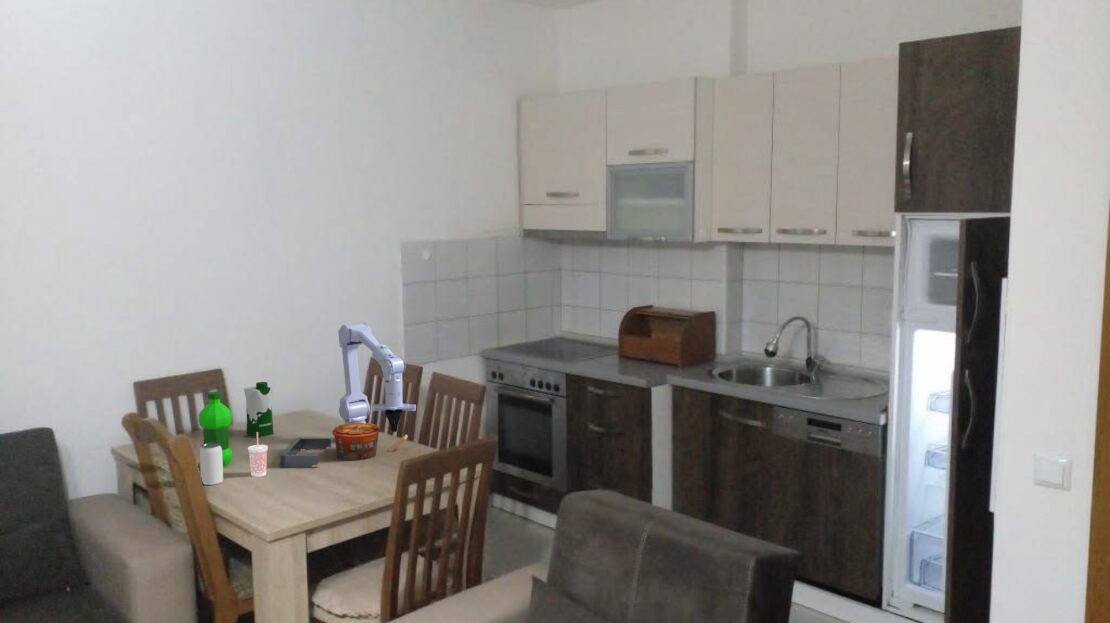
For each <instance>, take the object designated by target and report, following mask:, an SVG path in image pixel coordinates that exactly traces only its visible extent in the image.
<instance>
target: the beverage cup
mask: <svg viewBox="0 0 1110 623" xmlns="http://www.w3.org/2000/svg"><path fill="white" fill-rule="evenodd" d="M268 449H269V445H266V444H259V438H258V432H257V437H256V444H255V445H250V446H248V447H247V451H248V454H249V455H248V456H249V466H250V468H249V469H250V476H252V477H257V478H258V477H263V476H266V475H267V464H268V463H267V461H268V460H267V459H268V458H267V456H268Z"/></svg>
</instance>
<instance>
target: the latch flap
mask: <svg viewBox="0 0 1110 623" xmlns="http://www.w3.org/2000/svg"><path fill="white" fill-rule="evenodd" d="M408 438H409V437H408V435H407V434H405V435H403V436H402V437H401V438H399V440H397V441H396V442H395V443H394V444H392V445H391V446H389V449H388V450H387V452H393V451H395V449H397V448H398V447H399V446H401V445H402V444H403V443H404V442H406V440H407V439H408Z"/></svg>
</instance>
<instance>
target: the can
mask: <svg viewBox="0 0 1110 623" xmlns="http://www.w3.org/2000/svg"><path fill="white" fill-rule="evenodd" d="M199 461H200V463H199V465H200V478H201V477H202V481H203V484H204V485H203V484H202V485H203V486H216V485H219V484H221V483H222V482H223V481H224V468H223V460H222V448H221V446H220V444H219V443H206V444H204V443H203V444H201V445H200V449H199Z"/></svg>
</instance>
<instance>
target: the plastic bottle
mask: <svg viewBox="0 0 1110 623" xmlns="http://www.w3.org/2000/svg"><path fill="white" fill-rule="evenodd" d="M221 399H222V391H219V390H217V391H215V390H213V391H209V392H207V400H209V403H208V404H206V405H205V407H203V408H202V409H201V410H200V411H199V414H198V423H199V426H200V427H201V428H202V429H203V430H202V431H203V444H206V443H219V444H220V446H221V448H222V460H223V469H224V468H226V466H228V464H230V462H231V461H232V458H233V451H232V449H231V447H230V440H229V426H230V425H231V424H232V421H233V418H232V416H233V415H232V411H231V410H230V408H228V407H227V406H226V405H225V404H224V403H222V402H221Z"/></svg>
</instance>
